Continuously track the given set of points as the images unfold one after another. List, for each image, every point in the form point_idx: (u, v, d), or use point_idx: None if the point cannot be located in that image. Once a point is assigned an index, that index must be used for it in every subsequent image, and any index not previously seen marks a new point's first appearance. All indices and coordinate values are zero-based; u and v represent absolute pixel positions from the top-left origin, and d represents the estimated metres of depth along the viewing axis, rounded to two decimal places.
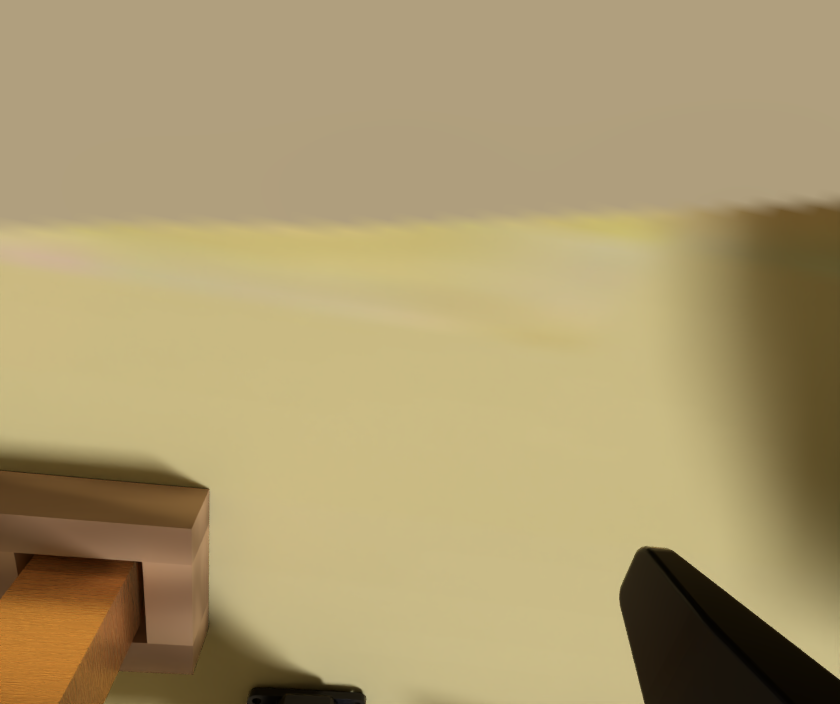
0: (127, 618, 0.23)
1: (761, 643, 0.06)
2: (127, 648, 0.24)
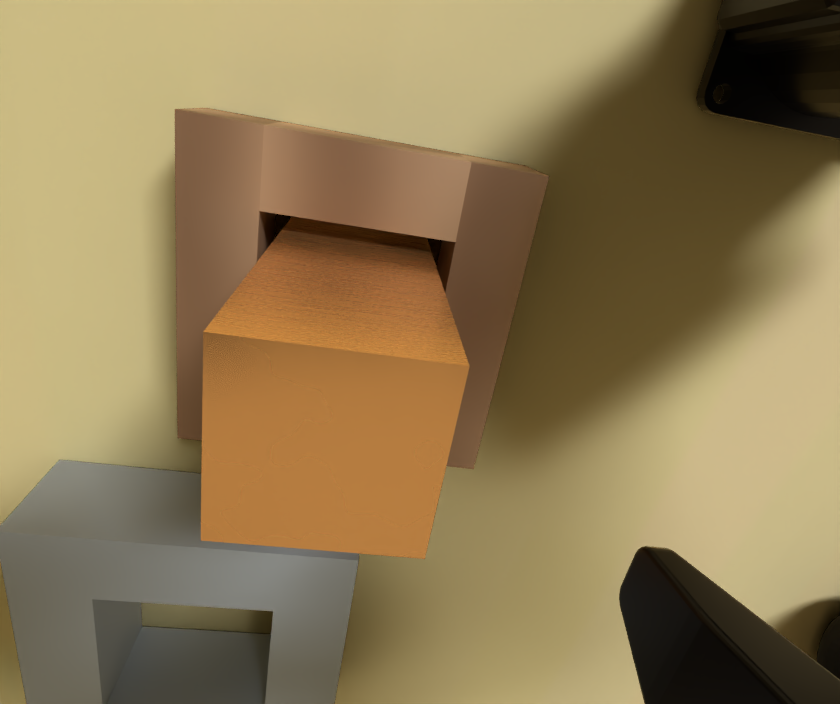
0: (365, 253, 0.14)
1: (761, 643, 0.06)
2: (429, 265, 0.14)
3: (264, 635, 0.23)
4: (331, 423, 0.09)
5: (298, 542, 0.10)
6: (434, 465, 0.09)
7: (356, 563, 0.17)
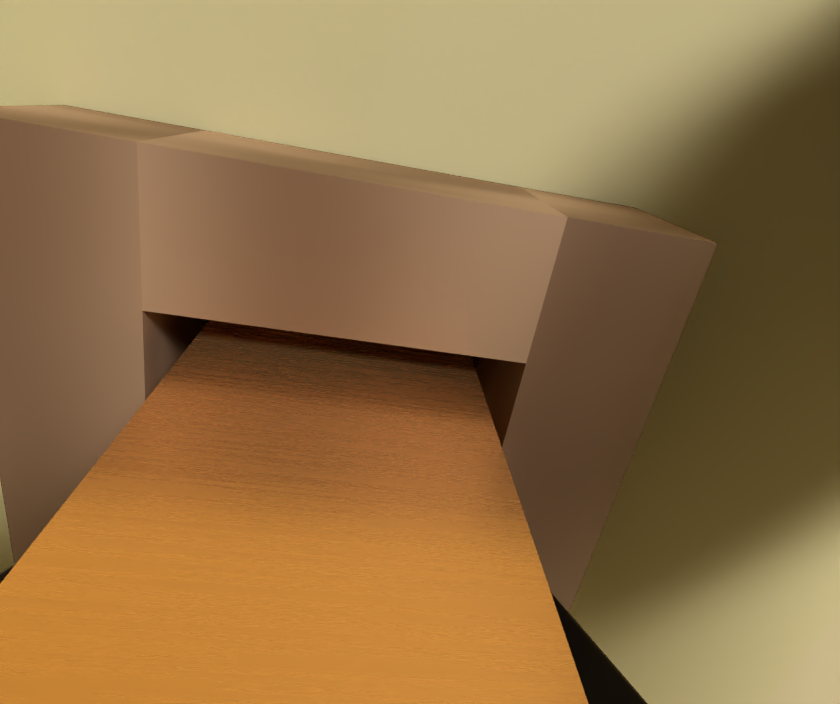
0: (352, 395, 0.07)
1: None
2: (479, 419, 0.07)
3: None
4: None
5: None
6: None
7: None
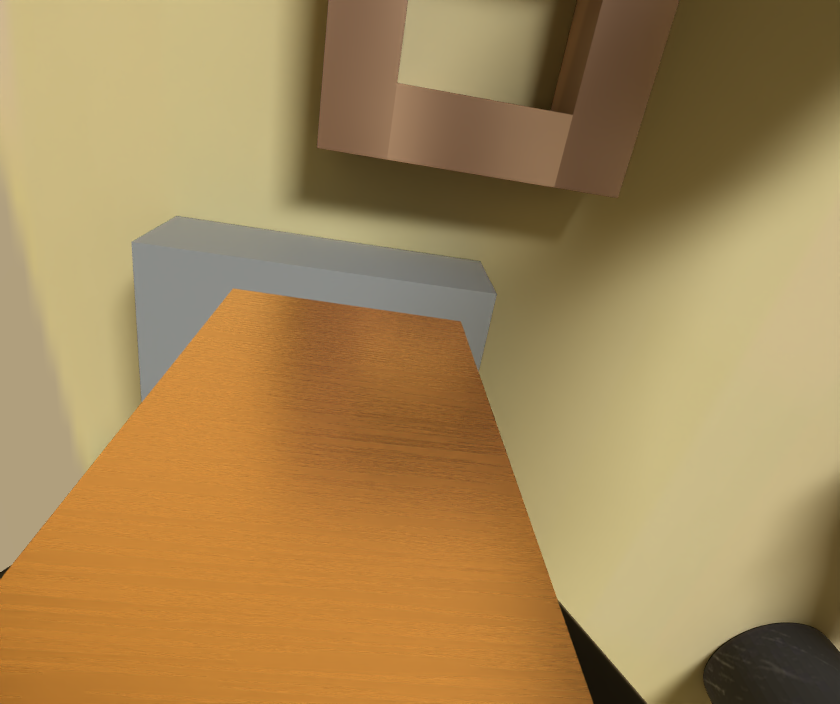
0: (353, 393, 0.07)
1: None
2: (481, 417, 0.07)
3: None
4: None
5: None
6: None
7: (493, 298, 0.17)
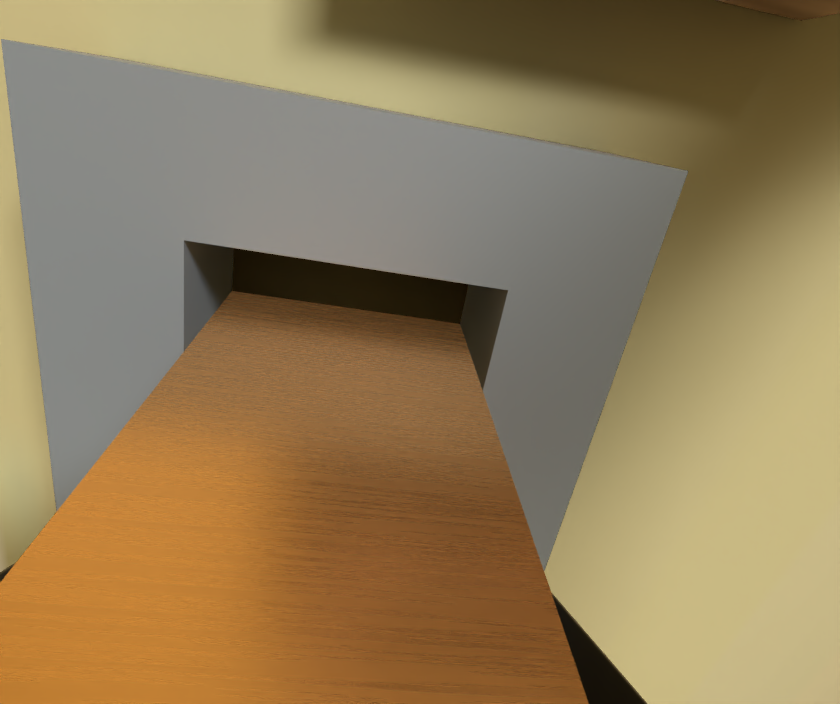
0: (352, 396, 0.07)
1: None
2: (480, 421, 0.07)
3: None
4: None
5: None
6: None
7: (681, 179, 0.09)
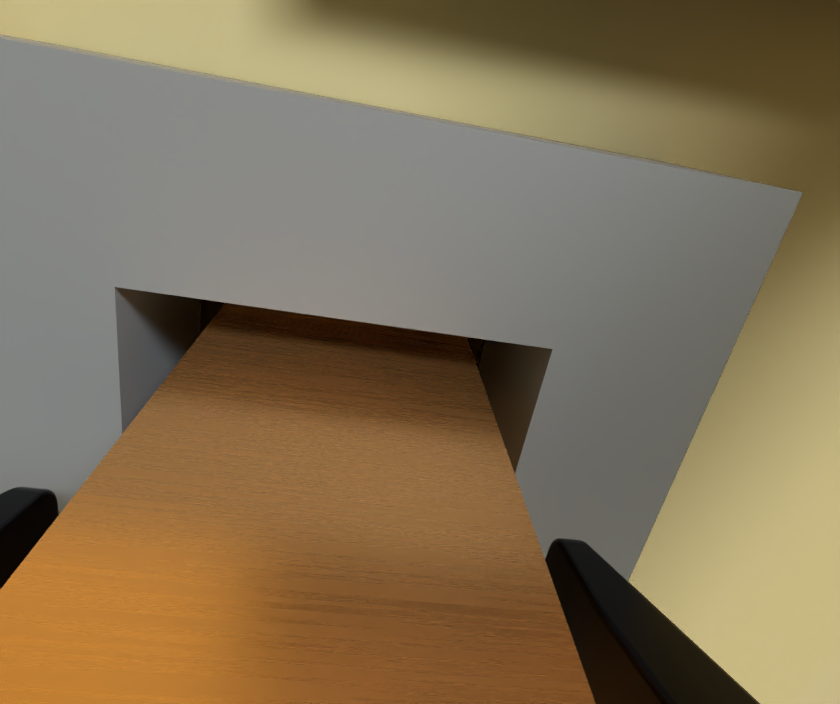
0: (359, 361, 0.08)
1: (652, 635, 0.06)
2: (471, 383, 0.08)
3: None
4: None
5: None
6: None
7: (792, 203, 0.07)
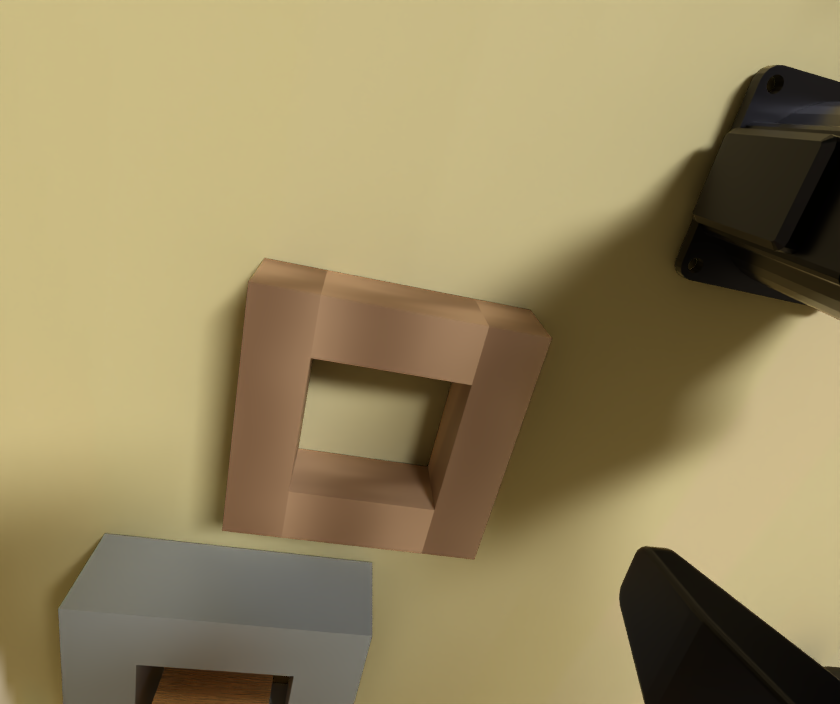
0: (225, 673, 0.21)
1: (761, 643, 0.06)
2: (267, 682, 0.21)
3: (274, 684, 0.26)
4: None
5: None
6: None
7: (370, 638, 0.20)
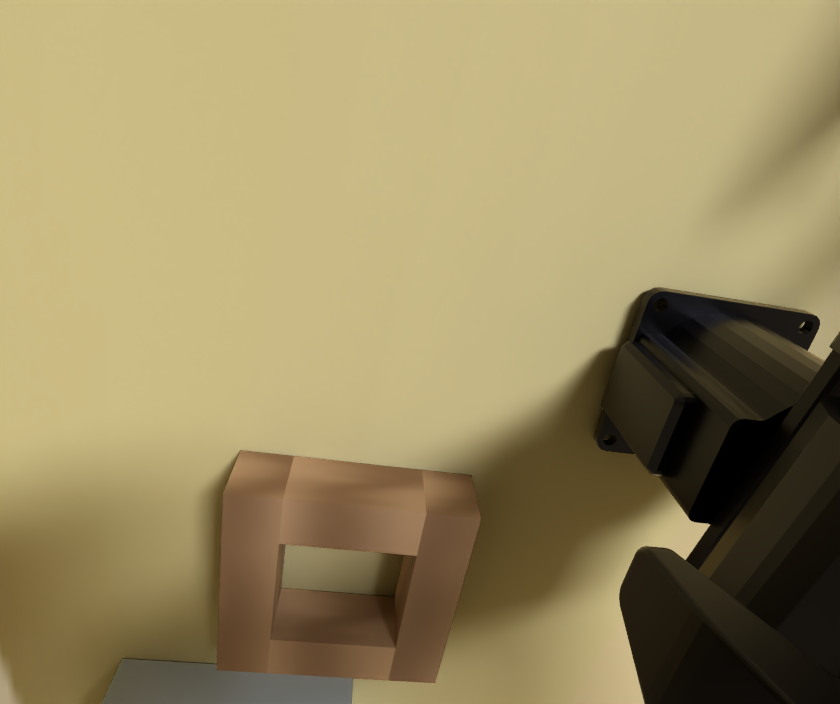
0: None
1: (761, 643, 0.06)
2: None
3: None
4: None
5: None
6: None
7: None
